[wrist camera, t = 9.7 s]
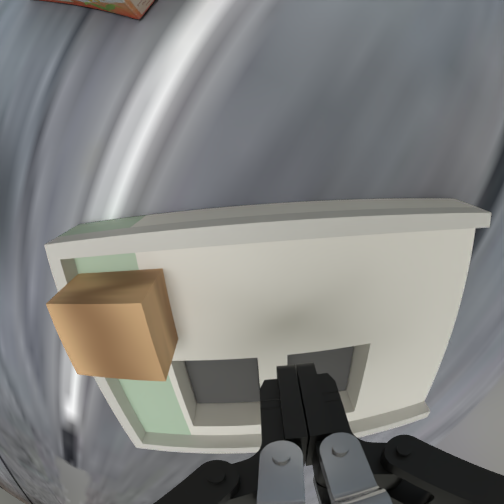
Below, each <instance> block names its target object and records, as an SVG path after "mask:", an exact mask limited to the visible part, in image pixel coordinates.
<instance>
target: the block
mask: <svg viewBox="0 0 504 504" xmlns="http://www.w3.org/2000/svg"><path fill="white" fill-rule="evenodd" d="M46 305H47V308H48V310H49V313H50V315H51V318H52V320H53V323H54V325H55V328H56V330H57V332H58V335H59V337H60V339H61V341H62V344H63V346H64V348H65V350H66V352H67V354H68V356H69V358H70V360H71V362H72V364H73V366H74V368H75V370H76V372H77V374H80V375H88V376H96V377H105V378H116V379H128V380H144V381H166V379H167V376H168V372H169V369H170V366H171V362H172V359H173V355H174V352H175V349H176V345H177V342H178V335H177V331H176V327H175V323H174V319H173V315H172V310H171V306H170V302H169V297H168V292H167V288H166V283H165V278H164V273H163V268H160V269H145V270H130V271H114V272H98V273H81V274H77V275H76V276H75V277H74V278H73V279H72V280H71V281H70V282H69V283H68V284H66V285H65V286H64V287H63V288H62V289H61V290H60V291H59V292H58V293H57V294H56V295H55V296H54V297H53V298H52V299H51V300H50V301H49V302H47V303H46Z"/></svg>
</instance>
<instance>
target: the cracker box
mask: <svg viewBox="0 0 504 504" xmlns="http://www.w3.org/2000/svg"><path fill="white" fill-rule="evenodd" d="M41 1H50V2H59V3H67V4H73V5H79V6H84V7H89V8H94V9H99V10H104V11H107V12H112V13H116V14H120V15H124V16H128V17H131V18H134V19H140V18H141V17H142V16H143V15H144V13H145V12H146V11H147V10H148V8H149V7H150V6H151V5H152V3H153V2H154V1H155V0H41Z"/></svg>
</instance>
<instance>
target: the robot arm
mask: <svg viewBox="0 0 504 504" xmlns="http://www.w3.org/2000/svg"><path fill="white" fill-rule="evenodd" d="M276 370H277V379H268V380H264V382H263V384H262V386H261V388H260V412H261V435H262V444H261V447H260V449H259V451H258V452H257V453H256V454H255V455H254V456H252V457H251V458H249V459H247V460H244V461H241V462H237V463H234V464H230V463H228V462H226V461H222V460H213V461H209V462H206V463H204V464H203V465H201V466H200V467H199V468H198V469H196V470H195V471H194V472H193V473H192V474H191V475H189V476H188V477H187V478H186V479H185V480H183V481H182V482H181V483H180V484H178V485H177V486H176V487H175V488H173V489H172V490H171V491H170V492H168V493H167V494H166V495H164V496H163V497H162V498H160V499H159V500H158V501H156V502H155V503H154V504H305V487H304V464H305V462H306V466H308V465H313V470H314V478H313V482H314V486H315V490H316V494H317V498H318V501H319V504H504V476H503V475H500V474H497V473H495V472H492V471H489V470H487V469H484V468H482V467H479V466H477V465H474V464H472V463H469V462H467V461H465V460H462V459H460V458H458V457H455V456H453V455H451V454H449V453H446V452H444V451H442V450H440V449H438V448H436V447H433V446H431V445H429V444H427V443H425V442H423V441H421V440H419V439H417V438H415V437H413V436H410V435H398V436H396V437H394V438H392V439H391V440H389V441H388V443H372V442H365V441H362V440H360V439H358V438H357V437H356V436H355V435H354V434H353V433H352V431H351V429H350V426H349V422H348V419H347V416H346V413H345V410H344V406H343V403H342V401H341V397H340V394H339V392H338V388H337V385H336V381H335V380H334V379H333V378H332V377H331V376H330V375H329V374H328V373H322V374H317V372H316V368H315V365H314V362H310V363H302V364H295V365H284V366H276Z"/></svg>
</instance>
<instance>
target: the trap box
mask: <svg viewBox="0 0 504 504" xmlns="http://www.w3.org/2000/svg"><path fill="white" fill-rule="evenodd" d="M490 220H491V212H488V211H486V210H483V209H481V208H478V207H475V206H473V205H470V204H467V203H465V202H462V201H459V200H456V199H449V198H394V199H351V200H326V201H305V202H288V203H272V204H258V205H244V206H232V207H220V208H209V209H199V210H189V211H179V212H170V213H161V214H152V215H144V216H136V217H128V218H120V219H113V220H106V221H99V222H92V223H85V224H79V225H77V226H75V227H74V228H72V229H70V230H68V231H67V232H65V233H63V234H61V235H60V236H58V237H56V238H55V239H53V240H51V241H50V242H48V243H46V244H45V245H44V246H45V250H46V253H47V257H48V261H49V264H50V268H51V271H52V274H53V278H54V281H55V284H56V287H57V290H58V292H59V291H60V290H61V289H62V288H63V287H64V286H65V285H66V284H68V283H69V282H70V281H71V280H72V279H73V278H74V277H75V276H76V275H77V274H81V273H98V272H114V271H130V270H145V269H160V268H163V273H164V278H165V283H166V288H167V292H168V297H169V302H170V306H171V310H172V315H173V319H174V323H175V327H176V331H177V335H178V342H177V345H176V349H175V352H174V355H173V359H172V362H171V366H170V369H169V372H168V376H167V379H166V381H144V380H128V379H116V378H105V377H96V376H94V378H95V380H96V382H97V384H98V386H99V387H100V389H101V391H102V393H103V395H104V397H105V398H106V400H107V402H108V404H109V405H110V407H111V409H112V411H113V412H114V414H115V416H116V417H117V419H118V420H119V422H120V424H121V425H122V427H123V428H124V430H125V431H126V433H127V435H128V436H129V438H130V439H131V441H132V442H133V443H134V445H135V446H136V448H143V449H151V450H160V451H172V452H187V453H253V452H258V451H259V449H260V447H261V444H262V435H261V412H260V391H259V382H260V388H261V386H262V384H263V382H264V380H268V379H277V370H276V366H284V365H295V364H302V363H310V362H314V365H315V368H316V372H317V374H322V373H328V374H329V375H330V376H331V377H332V378H333V379H334V380H335V381H336V385H337V388H338V392H339V394H340V397H341V401H342V403H343V406H344V410H345V413H346V416H347V419H348V422H349V426H350V429H351V431H352V433H353V434H354V435H355V436H356V437H357V438H359V437H363V436H367V435H371V434H375V433H379V432H382V431H386V430H389V429H393V428H396V427H399V426H403V425H406V424H409V423H412V422H415V421H418V420H421V419H423V418H426V417H427V416H428V415H429V413H430V410H429V408H428V406H427V404H426V403H425V399H426V397H427V394H428V392H429V390H430V388H431V386H432V383H433V381H434V379H435V376H436V374H437V371H438V369H439V366H440V364H441V361H442V359H443V356H444V353H445V351H446V348H447V345H448V342H449V339H450V336H451V333H452V330H453V327H454V324H455V320H456V317H457V314H458V310H459V307H460V303H461V299H462V295H463V291H464V287H465V283H466V279H467V274H468V269H469V264H470V259H471V254H472V248H473V242H474V235H475V228H486V227H490ZM257 358H258V368H257ZM258 370H259V379H258Z"/></svg>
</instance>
